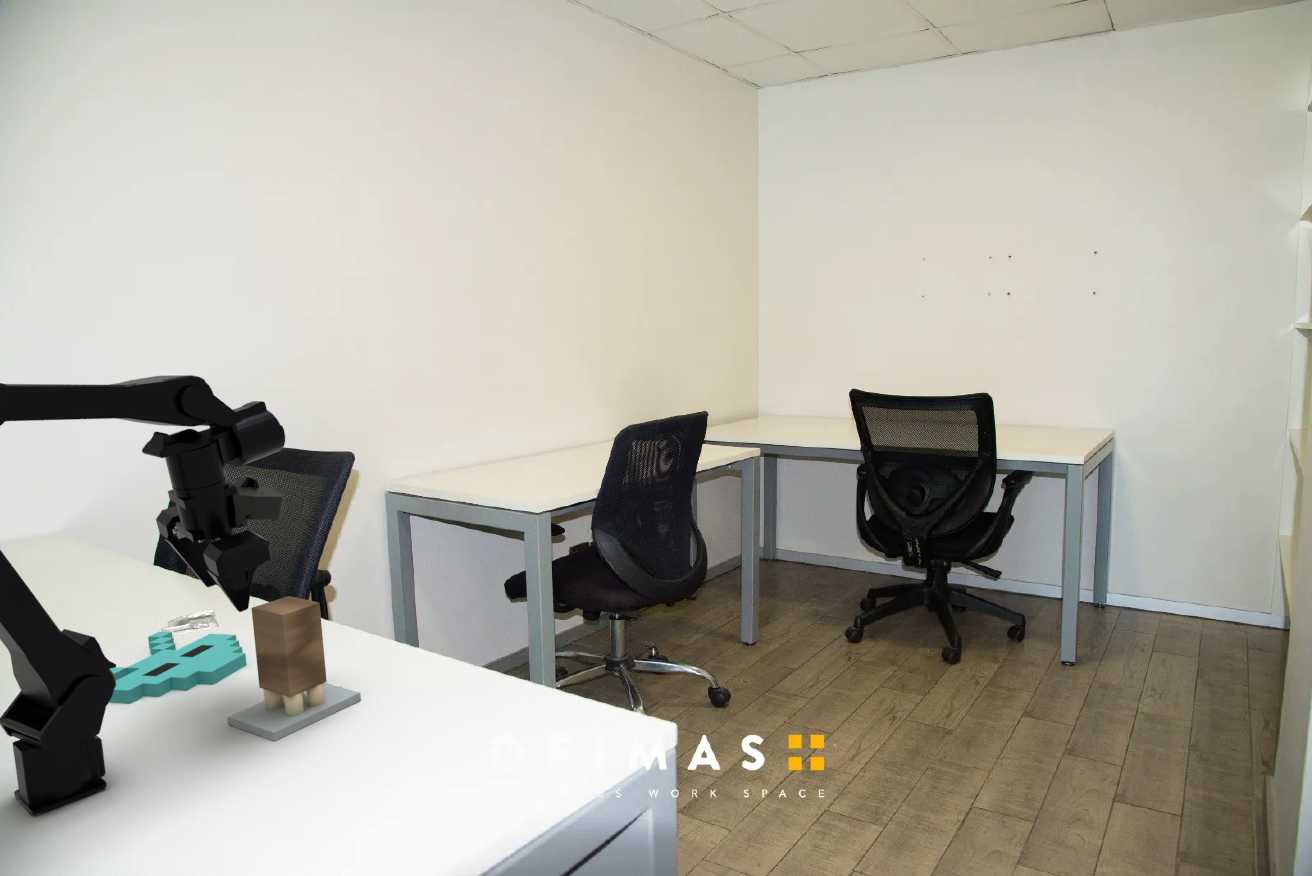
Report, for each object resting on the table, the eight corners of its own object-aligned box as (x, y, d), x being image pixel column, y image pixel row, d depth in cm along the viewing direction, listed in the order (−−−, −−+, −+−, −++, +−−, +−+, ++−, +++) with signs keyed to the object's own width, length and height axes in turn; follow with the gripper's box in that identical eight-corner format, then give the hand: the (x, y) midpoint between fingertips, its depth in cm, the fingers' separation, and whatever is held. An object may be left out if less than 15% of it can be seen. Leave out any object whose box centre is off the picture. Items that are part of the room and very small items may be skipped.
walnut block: (290, 697, 100) (282, 615, 99) (259, 687, 103) (251, 607, 102) (326, 681, 104) (319, 602, 103) (295, 672, 107) (288, 596, 106)
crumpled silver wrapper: (214, 618, 143) (213, 610, 143) (219, 630, 137) (218, 621, 137) (160, 628, 139) (159, 619, 139) (163, 641, 133) (162, 631, 133)
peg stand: (274, 741, 97) (271, 711, 96) (227, 724, 102) (225, 696, 101) (360, 700, 107) (358, 673, 107) (314, 686, 112) (312, 661, 111)
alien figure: (43, 701, 111) (176, 709, 107) (41, 685, 111) (174, 693, 107) (160, 645, 131) (276, 650, 127) (159, 631, 131) (275, 636, 126)
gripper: (304, 478, 99) (326, 596, 104) (234, 443, 111) (257, 551, 116) (205, 510, 91) (234, 635, 97) (141, 469, 103) (170, 583, 108)
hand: (226, 597), depth 105 cm, fingers open, 9 cm apart
